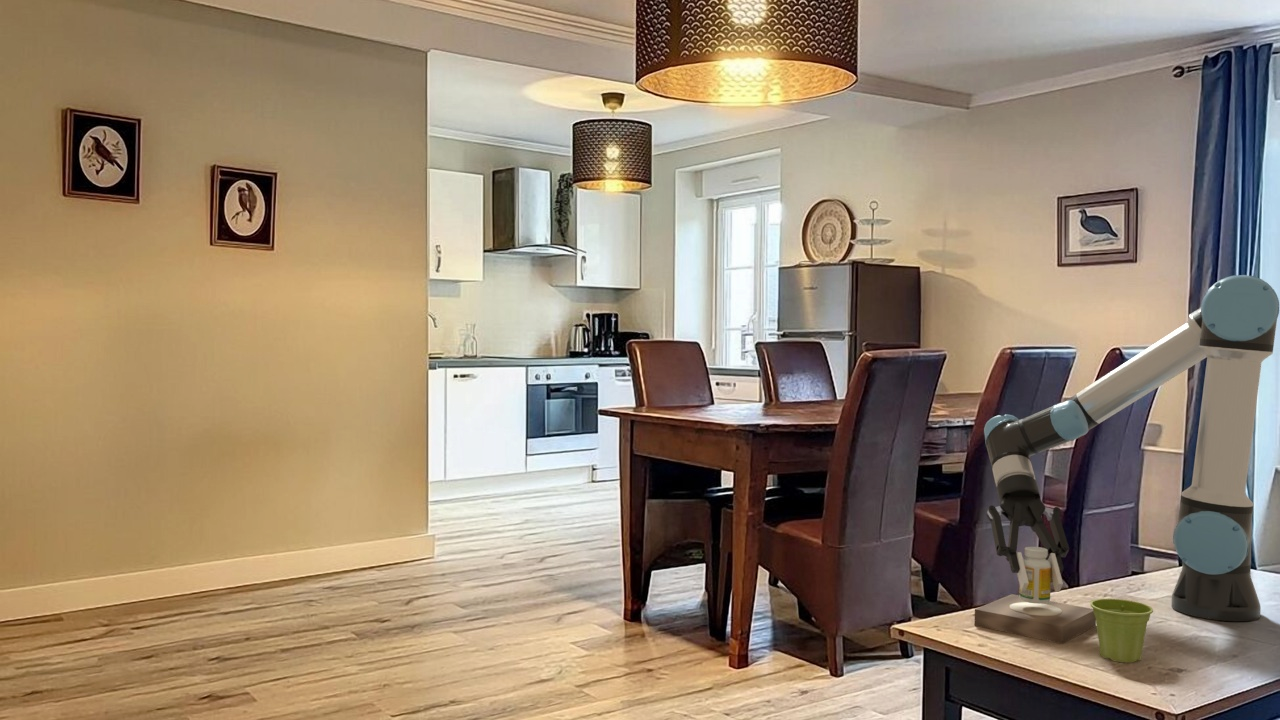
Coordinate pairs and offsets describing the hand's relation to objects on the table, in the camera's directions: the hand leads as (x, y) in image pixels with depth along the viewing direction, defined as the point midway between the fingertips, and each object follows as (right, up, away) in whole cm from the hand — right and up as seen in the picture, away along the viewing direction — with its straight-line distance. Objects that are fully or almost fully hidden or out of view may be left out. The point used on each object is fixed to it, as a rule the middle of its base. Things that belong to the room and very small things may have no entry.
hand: (1041, 587), depth 185 cm
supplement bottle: (0, -3, +4) cm, 5 cm away
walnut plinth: (0, -8, +4) cm, 9 cm away
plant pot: (+7, -9, -15) cm, 19 cm away
